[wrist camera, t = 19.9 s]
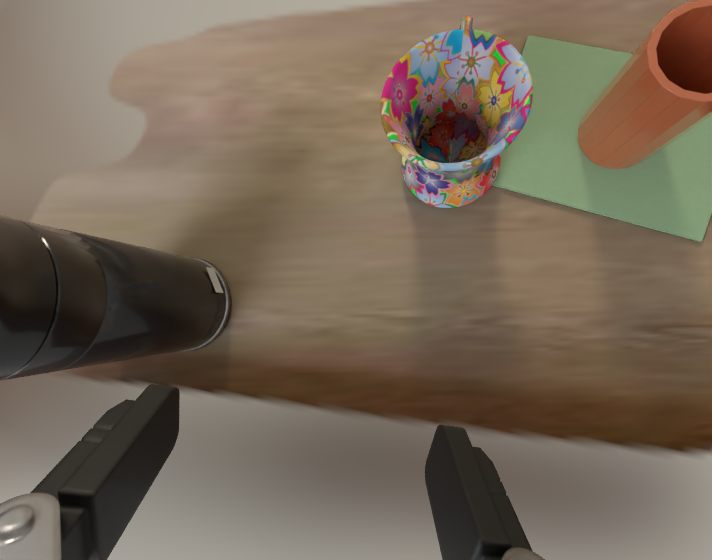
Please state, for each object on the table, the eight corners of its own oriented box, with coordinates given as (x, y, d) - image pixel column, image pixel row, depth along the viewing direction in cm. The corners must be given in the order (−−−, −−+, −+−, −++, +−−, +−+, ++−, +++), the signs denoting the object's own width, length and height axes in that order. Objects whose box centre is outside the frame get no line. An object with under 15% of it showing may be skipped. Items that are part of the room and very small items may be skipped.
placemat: (476, 181, 32) (476, 180, 32) (527, 37, 33) (528, 34, 32) (699, 242, 29) (702, 241, 28) (755, 78, 29) (758, 76, 29)
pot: (567, 158, 31) (632, 87, 21) (590, 91, 31) (667, -11, 21) (645, 177, 30) (754, 111, 20) (670, 107, 30) (790, 7, 20)
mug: (495, 220, 31) (522, 174, 21) (391, 210, 34) (369, 163, 23) (514, 89, 32) (549, -17, 22) (411, 88, 34) (398, -9, 24)
